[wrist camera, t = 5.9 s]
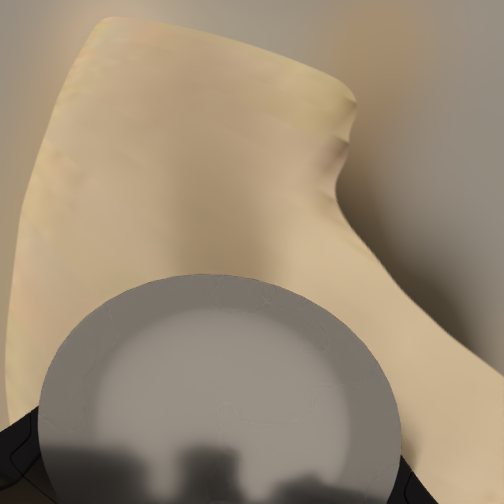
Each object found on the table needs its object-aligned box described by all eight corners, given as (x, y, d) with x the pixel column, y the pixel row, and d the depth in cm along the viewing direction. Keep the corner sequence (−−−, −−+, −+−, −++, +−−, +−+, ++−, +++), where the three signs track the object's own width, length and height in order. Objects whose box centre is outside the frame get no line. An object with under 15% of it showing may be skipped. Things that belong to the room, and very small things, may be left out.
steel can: (226, 458, 15) (202, 622, 3) (150, 370, 17) (-12, 403, 4) (318, 386, 17) (459, 454, 4) (240, 298, 18) (235, 193, 6)
